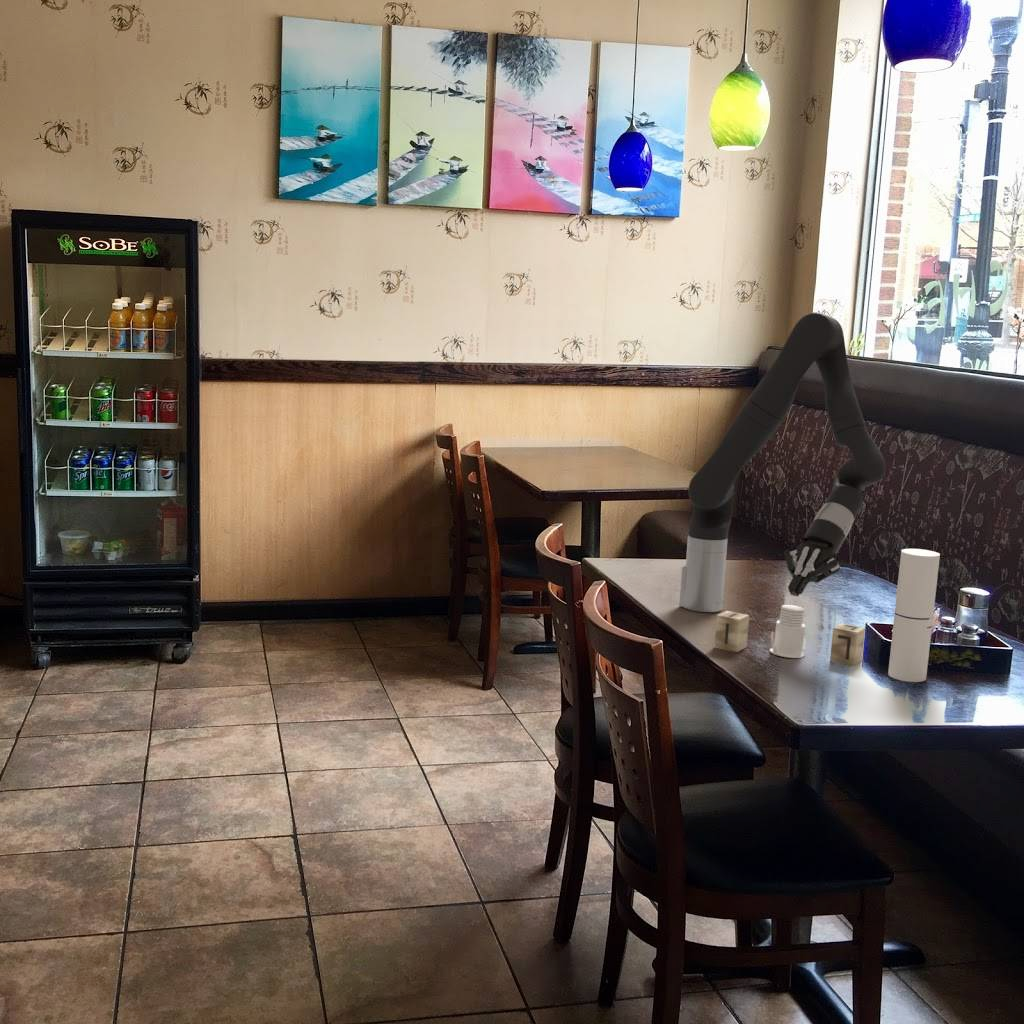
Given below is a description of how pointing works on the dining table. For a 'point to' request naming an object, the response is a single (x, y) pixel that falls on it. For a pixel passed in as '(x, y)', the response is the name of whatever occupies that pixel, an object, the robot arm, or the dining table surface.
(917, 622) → the cylindrical container
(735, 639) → the birch block one
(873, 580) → the dining table surface
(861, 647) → the birch block seven
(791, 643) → the downlight
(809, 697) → the dining table surface
